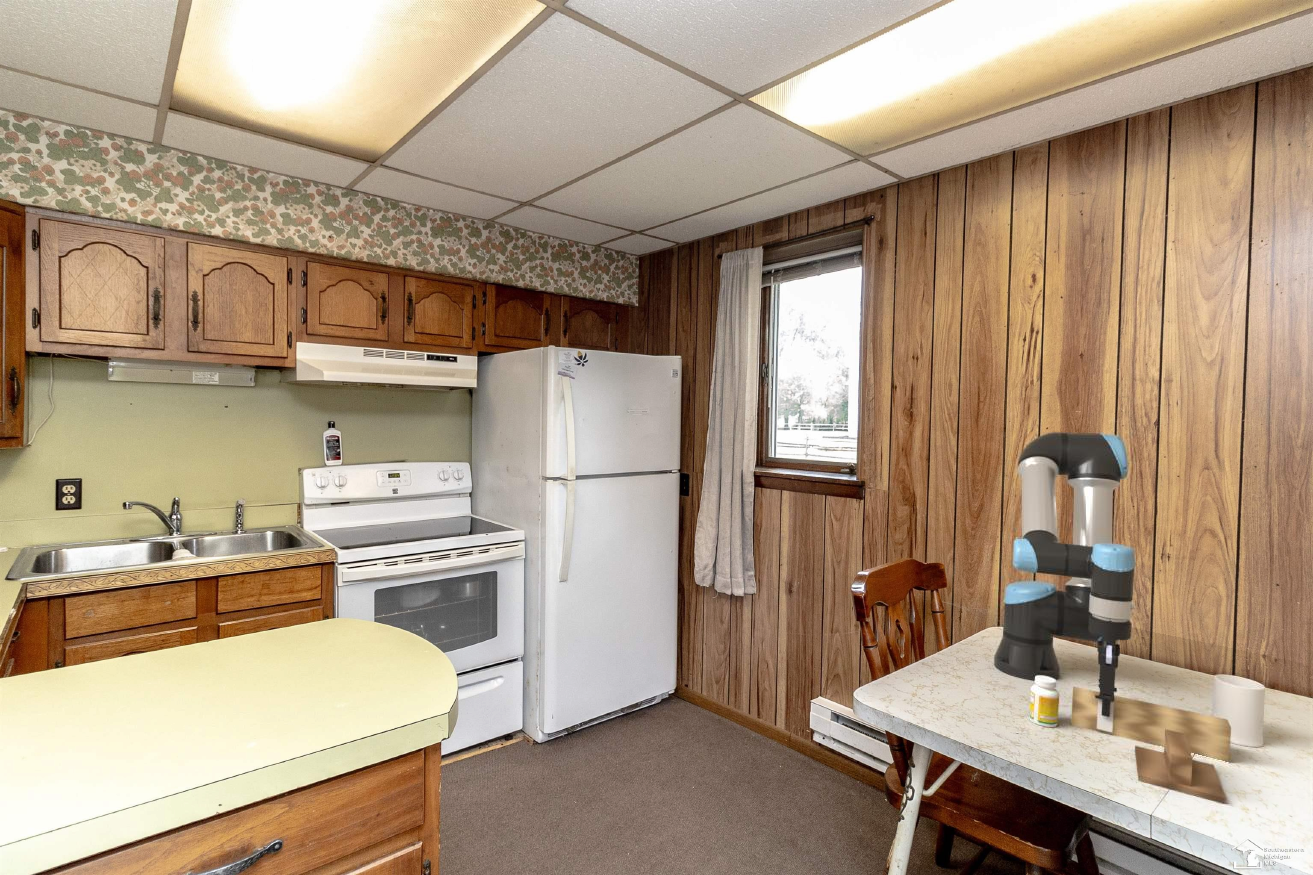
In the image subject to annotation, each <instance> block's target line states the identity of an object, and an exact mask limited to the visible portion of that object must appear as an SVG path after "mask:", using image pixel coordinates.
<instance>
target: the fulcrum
mask: <svg viewBox="0 0 1313 875" xmlns="http://www.w3.org/2000/svg"><path fill="white" fill-rule="evenodd" d="M1134 754H1135V763H1136V765H1135V766H1136V772H1137V781H1139V782H1143V783H1146V784H1150V785H1153V786H1157V787H1161V788H1164V789H1169V790H1172V791H1175V792H1179V793H1183V794H1186V795H1191V796H1194V797H1198V798H1202V799H1204V800H1209V801H1213V802H1217V803H1219V804H1224V805H1225V804H1226V797H1225V794H1224V791H1223V789H1222V786H1221V782H1220V780H1219V776H1218V774H1217V771H1216V769H1215V766H1214V764H1211V763H1207V762H1203V761H1200V760H1196V759H1193V756H1192V754H1191V752H1190V749H1189V746H1188V742H1187V739H1186V736H1185V734H1184V733H1180V732H1175V731H1171V730H1167V729H1165V743H1164V747H1163V751H1158V750H1154V749H1151V748H1146V747H1142V746H1139V745H1134Z"/></svg>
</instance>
